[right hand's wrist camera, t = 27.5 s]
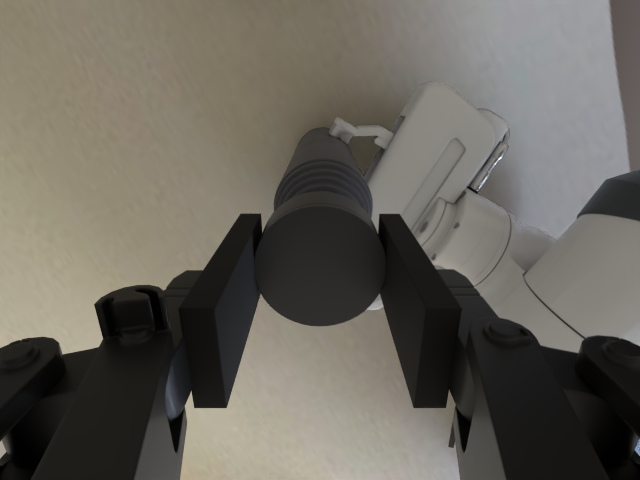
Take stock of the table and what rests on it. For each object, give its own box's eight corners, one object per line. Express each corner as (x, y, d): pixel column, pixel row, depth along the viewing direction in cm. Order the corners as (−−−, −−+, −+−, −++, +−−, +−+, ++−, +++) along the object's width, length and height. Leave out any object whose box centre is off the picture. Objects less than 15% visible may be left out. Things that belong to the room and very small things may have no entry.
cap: (401, 229, 14) (414, 249, 12) (338, 316, 15) (341, 345, 13) (298, 168, 13) (295, 179, 11) (241, 266, 14) (230, 290, 13)
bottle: (306, 186, 39) (283, 318, 16) (290, 137, 37) (236, 205, 14) (354, 171, 38) (403, 286, 15) (340, 120, 36) (371, 163, 13)
